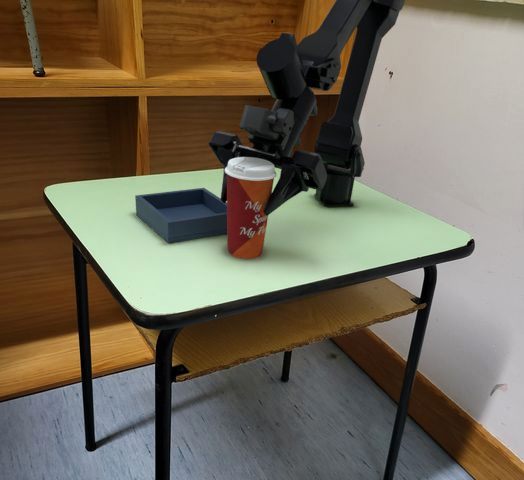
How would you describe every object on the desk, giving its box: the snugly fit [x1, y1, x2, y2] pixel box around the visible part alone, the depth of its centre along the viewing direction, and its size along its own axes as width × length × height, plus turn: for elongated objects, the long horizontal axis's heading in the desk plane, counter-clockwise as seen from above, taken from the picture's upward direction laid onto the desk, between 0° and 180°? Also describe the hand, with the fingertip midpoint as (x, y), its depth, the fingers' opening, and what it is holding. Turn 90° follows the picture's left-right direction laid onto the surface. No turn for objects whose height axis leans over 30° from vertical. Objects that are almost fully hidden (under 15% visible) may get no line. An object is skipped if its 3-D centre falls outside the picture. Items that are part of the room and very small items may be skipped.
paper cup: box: [225, 157, 277, 260], centre depth 82 cm, size 8×8×14 cm
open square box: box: [134, 187, 227, 244], centre depth 93 cm, size 14×14×4 cm
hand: (243, 207), depth 81 cm, fingers closed on paper cup, 7 cm apart
